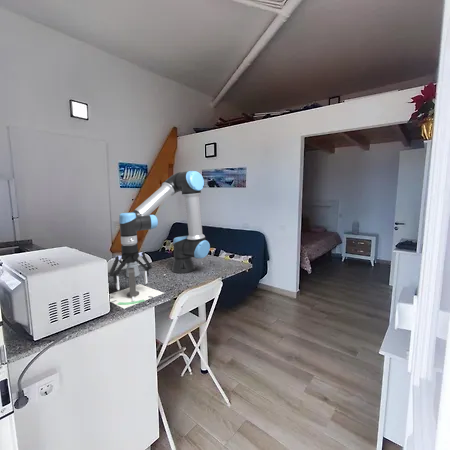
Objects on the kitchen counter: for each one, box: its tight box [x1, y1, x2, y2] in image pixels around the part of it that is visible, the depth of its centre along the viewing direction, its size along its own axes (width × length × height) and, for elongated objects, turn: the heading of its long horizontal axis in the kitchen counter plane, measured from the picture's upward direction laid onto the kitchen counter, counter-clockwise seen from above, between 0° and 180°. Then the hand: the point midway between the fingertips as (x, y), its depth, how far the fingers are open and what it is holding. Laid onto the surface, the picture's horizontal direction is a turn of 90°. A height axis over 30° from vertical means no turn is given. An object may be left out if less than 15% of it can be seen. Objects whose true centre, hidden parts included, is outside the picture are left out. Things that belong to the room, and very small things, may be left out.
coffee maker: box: [118, 254, 141, 278], centre depth 160 cm, size 15×9×18 cm, turn 131°
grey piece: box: [127, 267, 139, 302], centre depth 124 cm, size 14×6×13 cm, turn 22°
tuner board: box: [109, 283, 164, 310], centre depth 127 cm, size 22×22×2 cm
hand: (132, 285), depth 127 cm, fingers open, 13 cm apart
